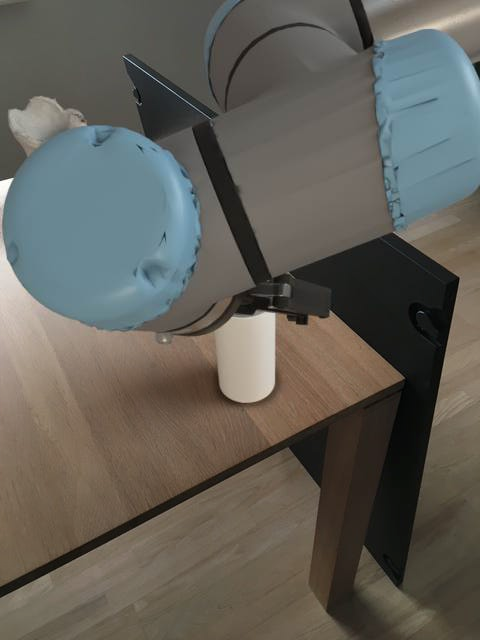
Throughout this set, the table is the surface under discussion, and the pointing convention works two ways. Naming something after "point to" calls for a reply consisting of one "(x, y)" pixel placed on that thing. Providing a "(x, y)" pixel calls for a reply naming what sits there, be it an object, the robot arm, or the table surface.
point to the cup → (246, 356)
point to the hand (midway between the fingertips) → (226, 304)
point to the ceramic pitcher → (42, 122)
